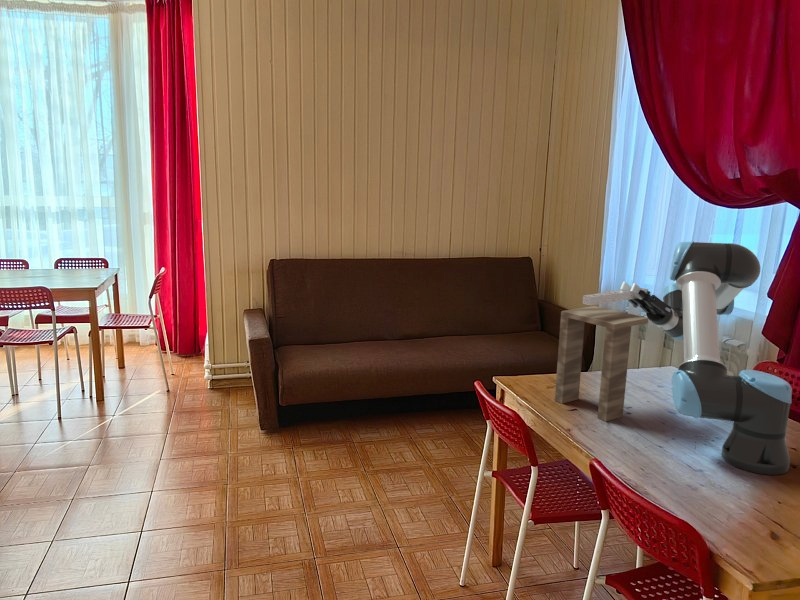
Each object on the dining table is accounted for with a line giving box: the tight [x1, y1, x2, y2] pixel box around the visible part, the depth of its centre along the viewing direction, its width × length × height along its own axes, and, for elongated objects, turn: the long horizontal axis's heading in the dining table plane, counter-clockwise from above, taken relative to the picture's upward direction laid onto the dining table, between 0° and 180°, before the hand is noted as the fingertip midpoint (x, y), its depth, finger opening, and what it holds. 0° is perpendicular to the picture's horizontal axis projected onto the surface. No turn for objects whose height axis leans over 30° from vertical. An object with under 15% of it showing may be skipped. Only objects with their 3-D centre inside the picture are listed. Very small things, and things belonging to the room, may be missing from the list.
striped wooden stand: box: [554, 305, 649, 422], centre depth 189 cm, size 20×16×30 cm
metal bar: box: [582, 287, 649, 306], centre depth 188 cm, size 3×28×2 cm, turn 124°
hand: (627, 286), depth 190 cm, fingers closed on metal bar, 3 cm apart
